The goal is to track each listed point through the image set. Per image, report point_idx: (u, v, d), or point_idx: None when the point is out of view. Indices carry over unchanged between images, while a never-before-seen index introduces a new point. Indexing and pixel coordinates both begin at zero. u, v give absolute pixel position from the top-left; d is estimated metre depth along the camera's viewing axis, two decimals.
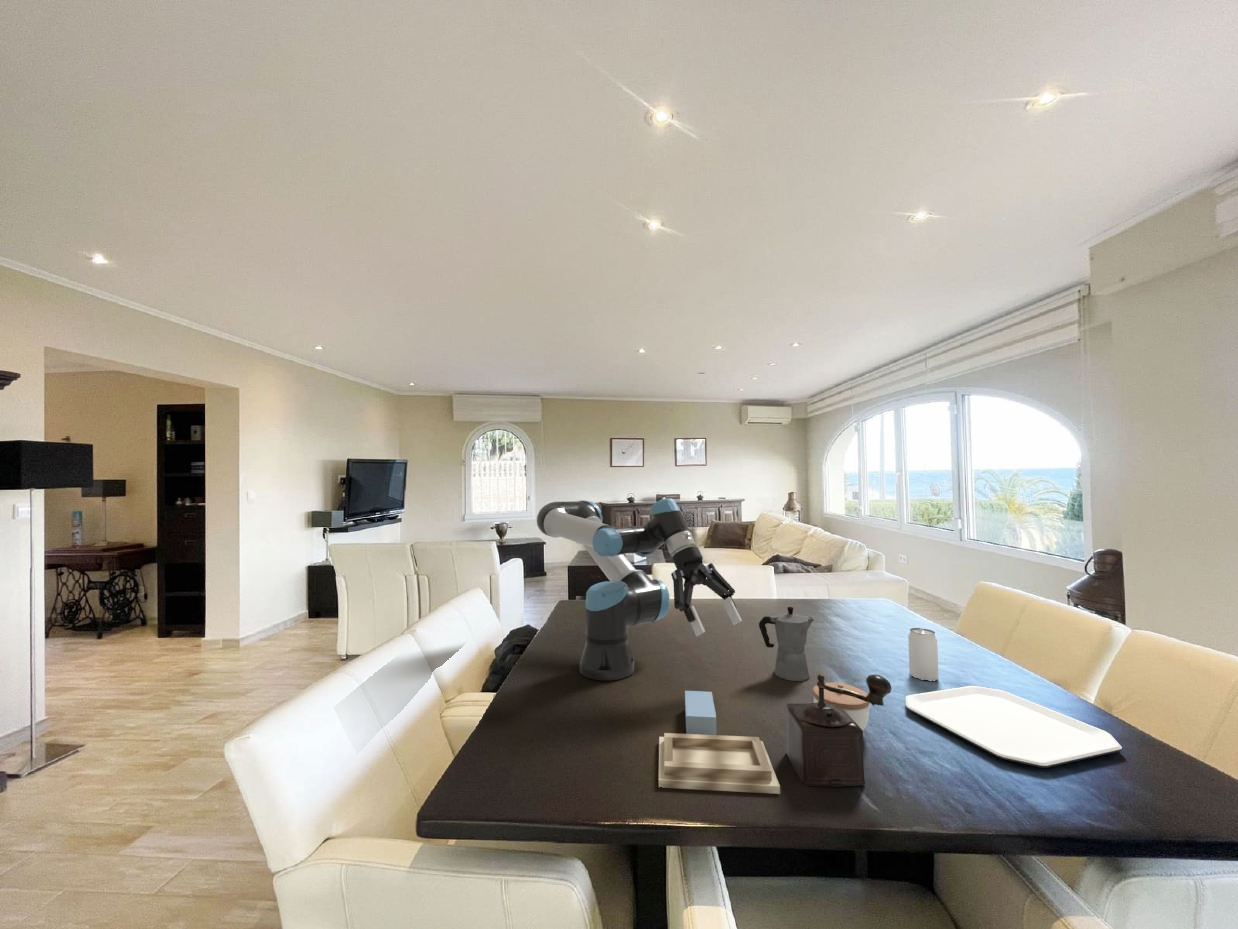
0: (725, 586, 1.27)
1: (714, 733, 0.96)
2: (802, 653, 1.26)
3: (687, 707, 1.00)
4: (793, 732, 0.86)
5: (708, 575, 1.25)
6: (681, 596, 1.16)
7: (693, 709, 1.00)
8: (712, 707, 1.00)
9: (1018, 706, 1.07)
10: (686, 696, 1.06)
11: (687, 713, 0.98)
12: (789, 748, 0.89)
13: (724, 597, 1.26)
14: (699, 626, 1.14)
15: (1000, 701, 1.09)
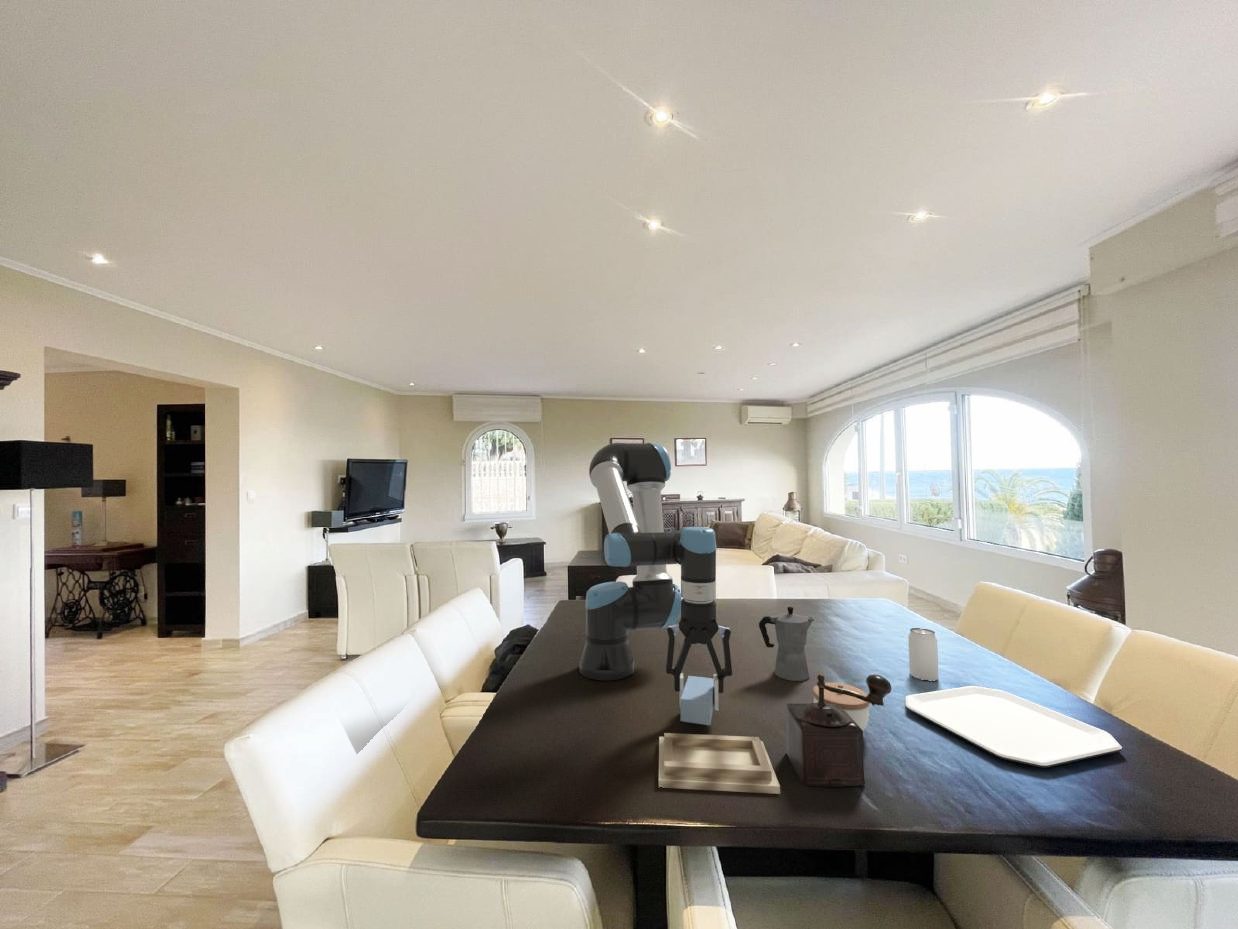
0: (725, 662, 1.02)
1: (708, 718, 0.96)
2: (802, 653, 1.26)
3: (684, 691, 1.02)
4: (793, 732, 0.86)
5: (708, 642, 1.01)
6: (669, 663, 1.02)
7: (689, 693, 1.00)
8: (709, 693, 1.01)
9: (1018, 706, 1.07)
10: (688, 681, 1.07)
11: (682, 696, 0.99)
12: (789, 748, 0.89)
13: (717, 673, 1.03)
14: None
15: (1000, 701, 1.09)
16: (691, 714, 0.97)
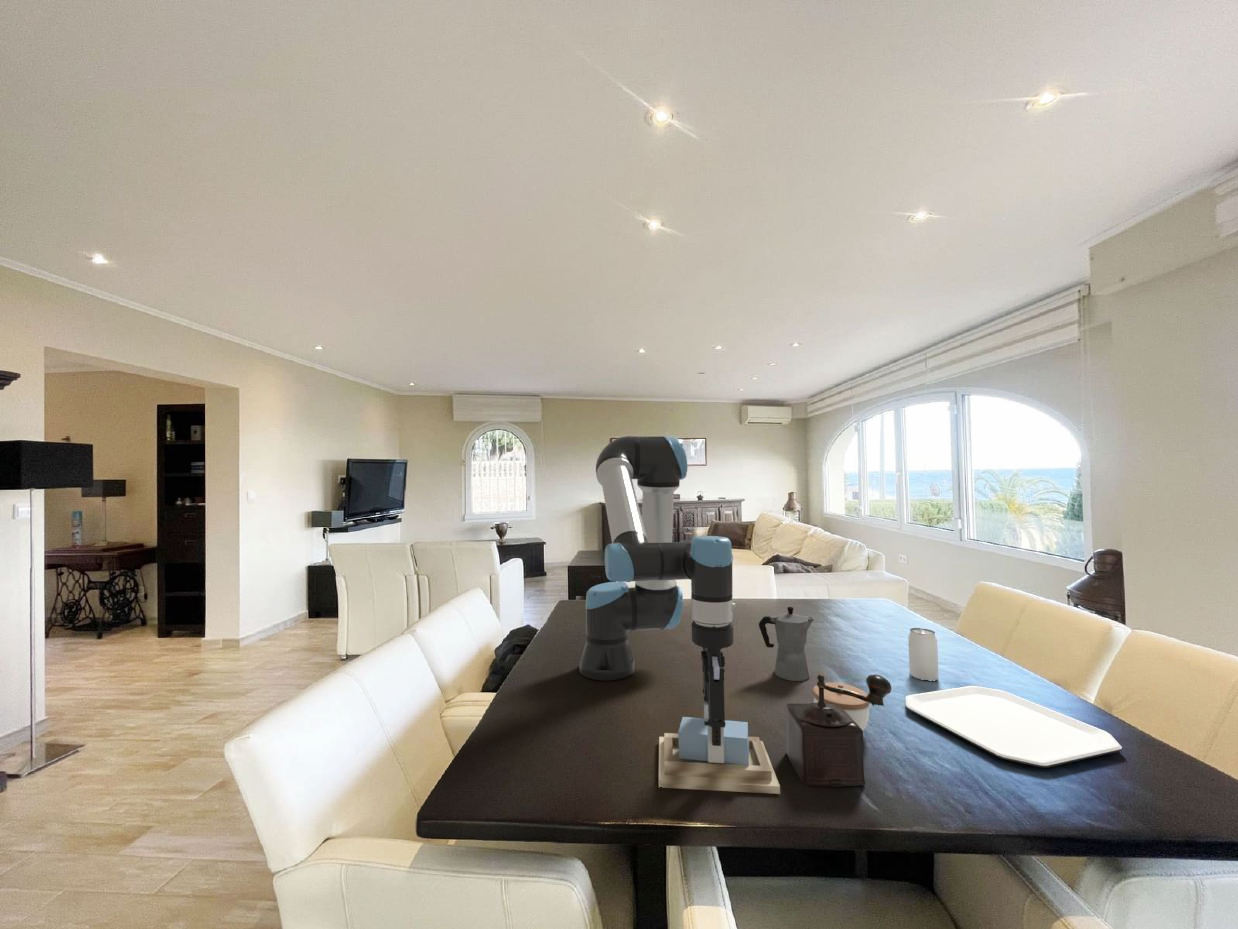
0: None
1: (748, 741, 0.88)
2: (802, 653, 1.26)
3: (725, 735, 0.84)
4: (793, 732, 0.86)
5: None
6: None
7: (730, 732, 0.85)
8: None
9: (1018, 706, 1.07)
10: (695, 733, 0.85)
11: (740, 737, 0.83)
12: (789, 748, 0.89)
13: (708, 700, 0.91)
14: (722, 753, 0.83)
15: (1000, 701, 1.09)
16: (748, 748, 0.84)
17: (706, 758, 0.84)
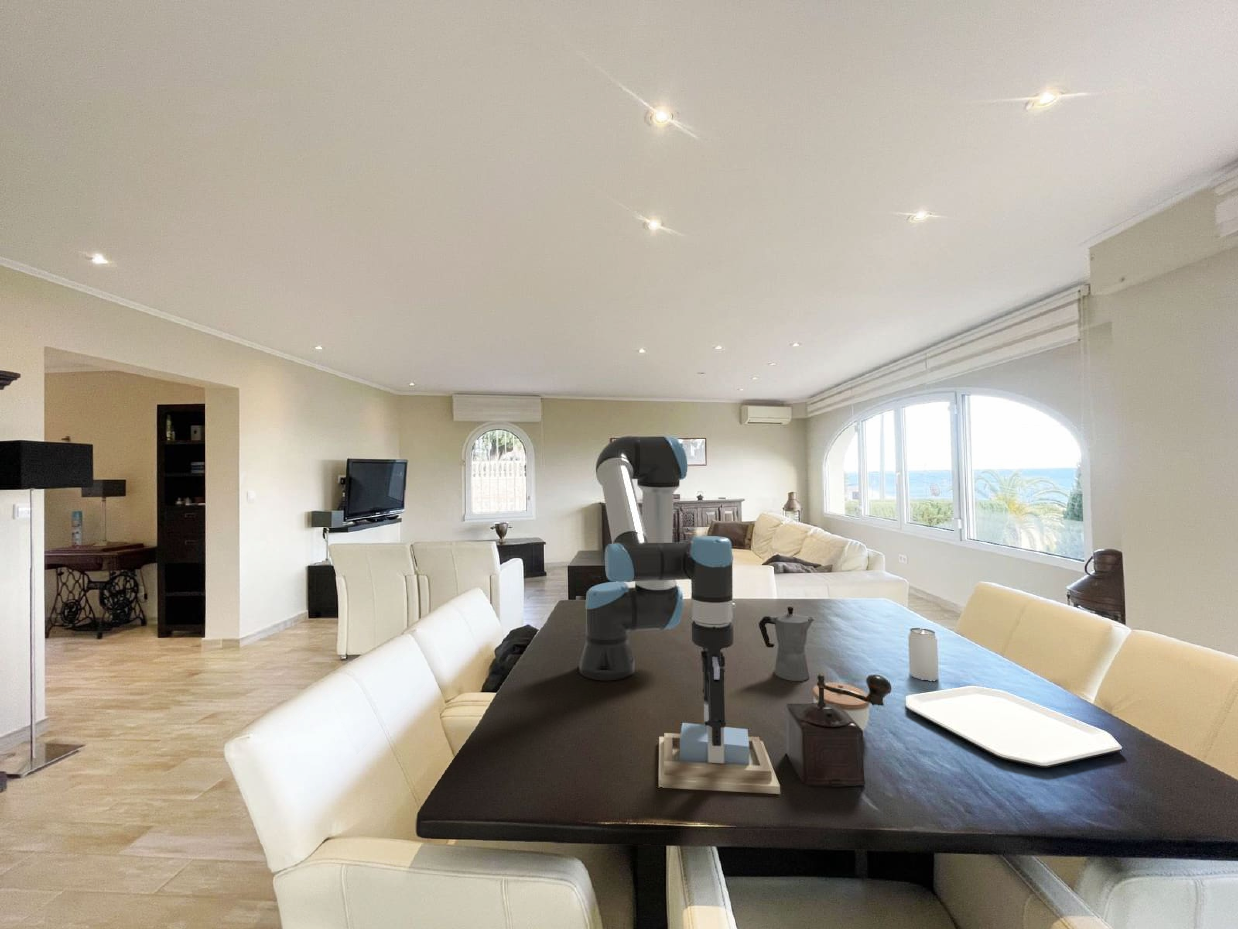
0: None
1: None
2: (802, 653, 1.26)
3: (727, 743, 0.84)
4: (793, 732, 0.86)
5: None
6: None
7: (731, 740, 0.85)
8: (724, 728, 0.89)
9: (1018, 706, 1.07)
10: (696, 740, 0.85)
11: (742, 745, 0.83)
12: (789, 748, 0.89)
13: (708, 699, 0.91)
14: (722, 754, 0.83)
15: (1000, 701, 1.09)
16: None
17: None
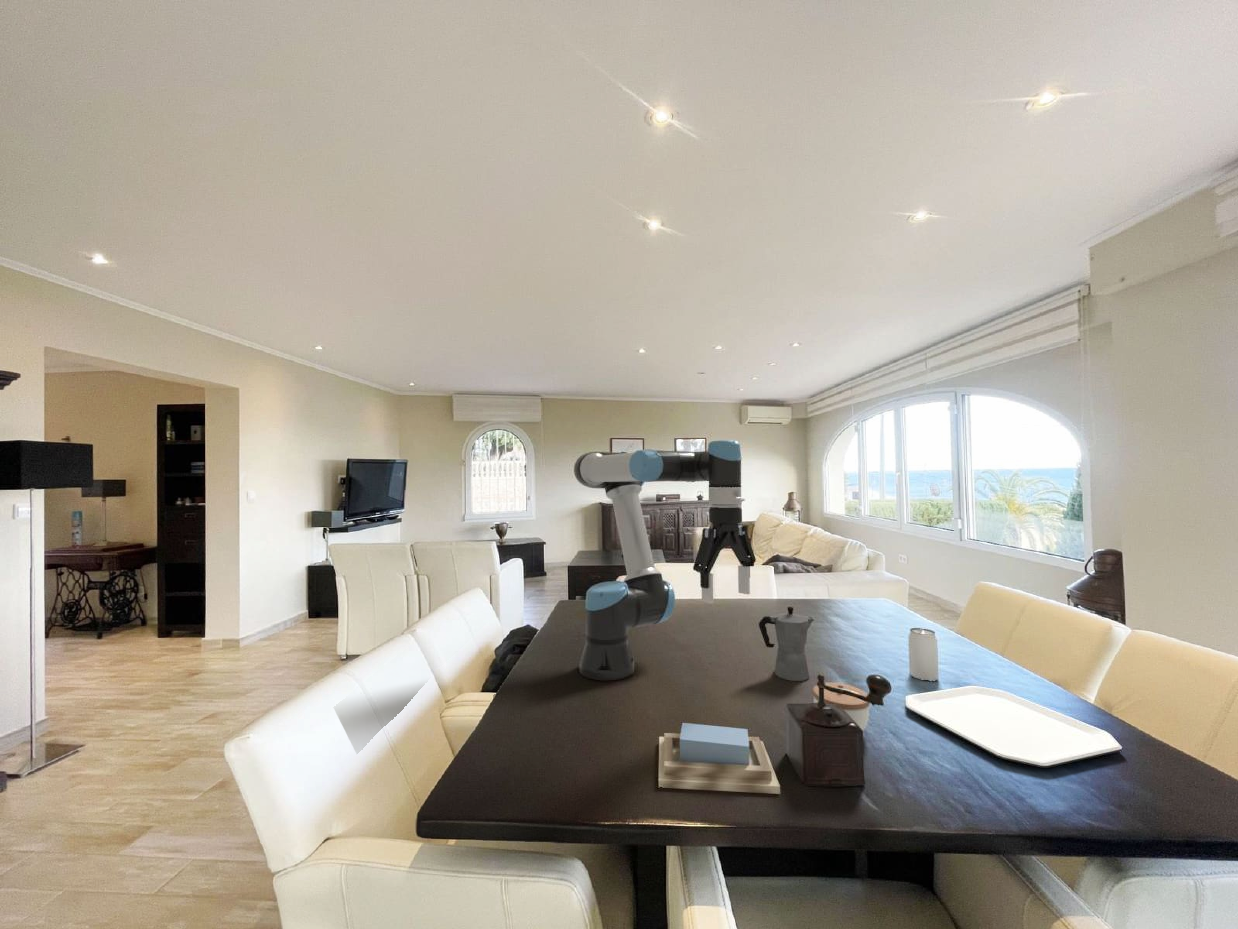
0: (748, 553, 1.16)
1: None
2: (802, 653, 1.26)
3: (727, 743, 0.84)
4: (793, 732, 0.86)
5: (738, 541, 1.12)
6: (705, 561, 1.05)
7: (731, 740, 0.85)
8: (724, 728, 0.89)
9: (1018, 706, 1.07)
10: (696, 740, 0.85)
11: (742, 745, 0.83)
12: (789, 748, 0.89)
13: (742, 563, 1.16)
14: (709, 596, 1.06)
15: (1000, 701, 1.09)
16: None
17: None
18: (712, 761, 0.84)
